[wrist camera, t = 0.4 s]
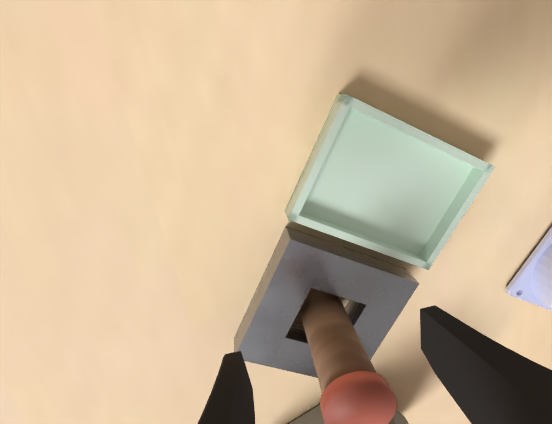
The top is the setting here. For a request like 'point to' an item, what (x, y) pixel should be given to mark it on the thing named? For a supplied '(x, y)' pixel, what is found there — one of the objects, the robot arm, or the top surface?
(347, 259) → the socket plate
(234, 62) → the top surface
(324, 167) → the tray
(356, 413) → the pin
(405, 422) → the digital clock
